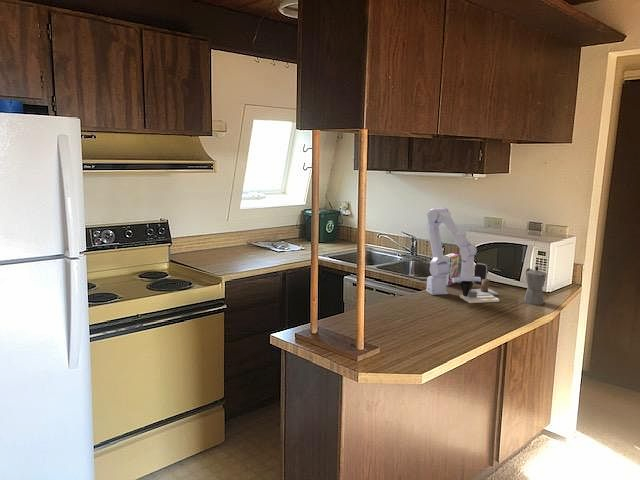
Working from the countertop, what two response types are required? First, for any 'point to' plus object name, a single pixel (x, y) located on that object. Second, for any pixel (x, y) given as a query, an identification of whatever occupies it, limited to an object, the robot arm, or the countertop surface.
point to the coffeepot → (534, 286)
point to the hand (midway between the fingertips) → (465, 295)
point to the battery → (481, 271)
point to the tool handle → (484, 285)
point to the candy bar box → (452, 267)
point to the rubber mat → (485, 292)
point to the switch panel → (480, 298)
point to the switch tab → (472, 294)
